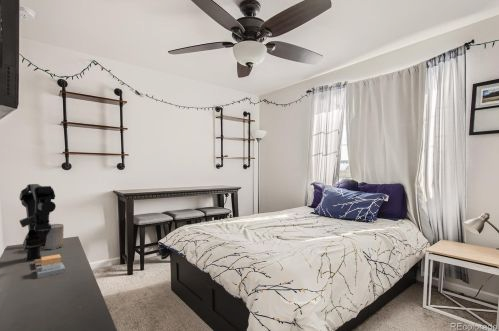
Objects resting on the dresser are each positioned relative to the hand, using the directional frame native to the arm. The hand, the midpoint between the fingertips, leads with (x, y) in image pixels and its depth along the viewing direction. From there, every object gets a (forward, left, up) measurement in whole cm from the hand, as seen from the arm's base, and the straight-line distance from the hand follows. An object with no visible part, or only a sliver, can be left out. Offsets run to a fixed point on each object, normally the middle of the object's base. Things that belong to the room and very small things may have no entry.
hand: (41, 240), depth 129 cm
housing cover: (+15, +3, -8) cm, 17 cm away
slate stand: (+15, +3, -12) cm, 19 cm away
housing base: (+15, +3, -10) cm, 18 cm away
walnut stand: (+2, +3, -12) cm, 13 cm away
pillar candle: (-29, +8, -12) cm, 32 cm away
